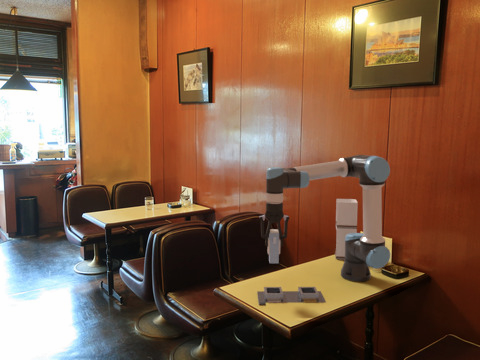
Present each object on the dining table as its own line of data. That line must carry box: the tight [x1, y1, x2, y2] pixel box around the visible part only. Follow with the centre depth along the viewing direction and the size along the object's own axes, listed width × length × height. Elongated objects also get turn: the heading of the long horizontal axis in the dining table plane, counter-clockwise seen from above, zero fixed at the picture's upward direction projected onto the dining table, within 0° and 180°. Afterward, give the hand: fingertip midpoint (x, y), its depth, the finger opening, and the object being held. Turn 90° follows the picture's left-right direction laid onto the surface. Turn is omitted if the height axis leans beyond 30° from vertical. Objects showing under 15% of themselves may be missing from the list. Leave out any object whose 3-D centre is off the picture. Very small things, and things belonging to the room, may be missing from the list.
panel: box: [257, 286, 327, 306], centre depth 177 cm, size 30×12×4 cm, turn 90°
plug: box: [268, 228, 280, 264], centre depth 173 cm, size 4×6×15 cm
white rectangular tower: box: [334, 198, 359, 261], centre depth 233 cm, size 11×11×35 cm
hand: (273, 253), depth 174 cm, fingers closed on plug, 4 cm apart
